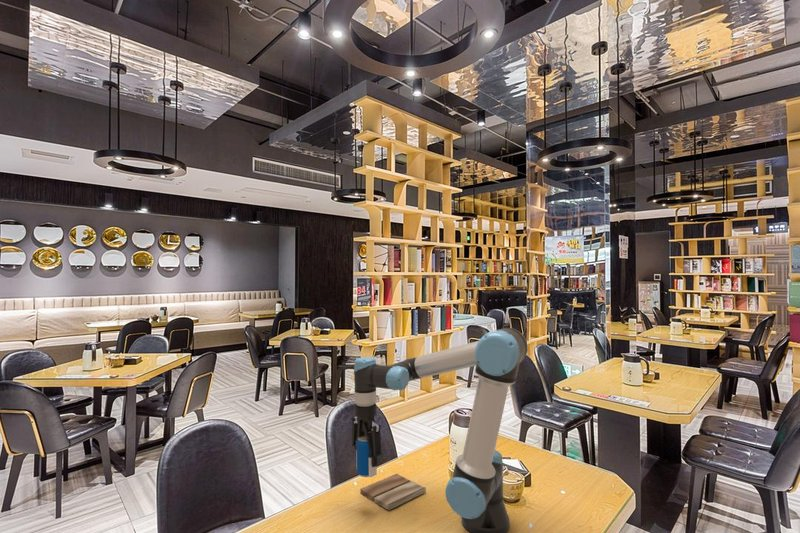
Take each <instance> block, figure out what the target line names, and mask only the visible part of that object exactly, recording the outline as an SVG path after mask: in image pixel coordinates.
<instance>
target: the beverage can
mask: <svg viewBox="0 0 800 533" xmlns="http://www.w3.org/2000/svg"><path fill="white" fill-rule="evenodd" d="M369 456H370V451H369V445H368V441H367V436H365V435H364V436H362V437H358V440H357V470H356V474H357V475H359V476H360V477H363V478H370V477H369Z"/></svg>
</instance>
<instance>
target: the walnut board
mask: <svg viewBox="0 0 800 533" xmlns="http://www.w3.org/2000/svg"><path fill="white" fill-rule="evenodd" d="M410 481H411V479H408V478H406V477H404V476H403V475H401V474H399V473H395V474H391V475H390V476H387V477H386V478H385V477H384V478H383V479H380V480H379V481H375V482H372V483H371V484H368V485H366V486H364V487H362V488H360V490H359V492H360V494H361V495H363V496H364V497H365V498H367V499H368V500H370V501H371V502H374V498H375V497H377V496H379V495H381V494H384V493H386V492H388V491H390V490H393V489H395V488H397V487H399V486H401V485H404V484H406V483H408V482H410ZM374 503H375V502H374Z"/></svg>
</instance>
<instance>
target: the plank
mask: <svg viewBox="0 0 800 533" xmlns="http://www.w3.org/2000/svg"><path fill="white" fill-rule="evenodd" d="M425 493H427V487H425V486H423V485H421V484H418V483H416V482H414V481H411V480H410V482H408V483H406V484H404V485H401V486H399V487H397V488H395V489H393V490H390V491H388V492H386V493H384V494H381V495H379V496H377V497H375V498H374V503H375V504H377V505H378V506H380V507H382V508H384V509H386V510H387V511H390V510H393V509H395V508H397V507H399V506H401V505H403V504H405V503H407V502H409V501H411V500H413V499H415V498H417V497H419V496H421V495H423V494H425Z"/></svg>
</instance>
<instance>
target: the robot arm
mask: <svg viewBox="0 0 800 533" xmlns="http://www.w3.org/2000/svg"><path fill="white" fill-rule="evenodd" d="M528 348H529V347H528V342H527V340H526V337H525V336H524V334H523V333H521V332H520V331H519V330H517V329H515V328H511V327H502V328H500V329H496V330H492V331H488V332H486V333H485V334H484V335H483V336H481V337H480V339H479V340H476V341H474V342H468V343H465V344H462V345H458V346H454V347H450V348H446V349H443V350H439V351H435V352H431V353H428V354H423V355H420V356H416V357H410V358H407V359H404V360H401V361H399V362H395V363H393V364H390V365H383V364H377V360H376V358H375V357H371V356H362V357H357V358H356V359H355V361H354V365H353V366H354V367H353V368H354V370H353V374H354V375H353V376H354V378H353V380H354V394H353V395H354V396H353V397H354V398H353V399H354V415H355V416H354V417H352V418H351V422H352V423H351V424H352V427H351V429H352V430H351V431H352V432H351V446H352V447H354V450H355V460H356V461H355V463H356V464H355V465H356V471H357V440H358V437H362V436H364V435H365V436H367V441H368V445H369V451H370V456H369V477H368V478H372V477H376V476H377V472H378V471H377V469H378V468H377V466H378V457H379V456H382V440H381V428H382V427H381V426H382V425H381V424H377V423H376V421H375V417H376V415H377V403H376V402H377V389H378V388H379V389H385V390H392V391H403V390H406V388H407V386H408V385H409V382H411V381H416V380H419V379H423V378H427V377H433V376H436V375H441V374H445V373H450V372H455V371H459V370H462V369H467V368H473V367H475V368H474V372H475V374H476V376H477V377H478V382H477V386H476V391H475V395H474V400H473V404H472V410H471V413H470V419H469V423H468V428H467V433H466V437H465V443H464V447H463V451H462V453H461V454H460V455H458V456H457V457H456V459H455V464H454V467H453V473H452V477H451V478H450V479H449V480H448V481H447V483H446V487H445V492H444V493H445V499H446V501H447V504H448V505H449V506H450V508H451V510H452V511H453V512H454V513H455V514H456V515H458V516H459V517H461V524H462V527H463V528H464V529H465V530H466V531H467V532H469V533H508V532H509V530H510V517H509V514H508V513H507V512H508V511H507V508H506V505H505V502H504V501H505V500H504V468H503V467H504V466H503V465H504V462H503V456H502V452H499V451H498V450H496V446H497V441H498V438H499V432H500V428H501V424H502V418H503V413H504V410H505V404H506V400H507V396H508V391H509V387H510V386H512V385H514V384H515V383H516V380H517V376H518V371H519V368H520V364H521V362H523V360H525V358H526V356H527V354H528V350H529V349H528Z"/></svg>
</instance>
